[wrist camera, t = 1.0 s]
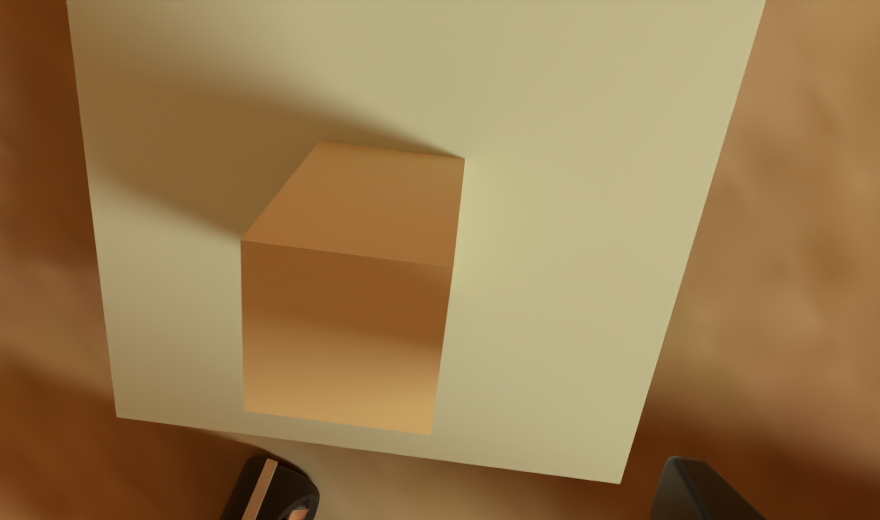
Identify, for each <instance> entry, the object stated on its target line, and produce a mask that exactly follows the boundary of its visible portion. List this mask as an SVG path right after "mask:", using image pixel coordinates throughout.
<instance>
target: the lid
mask: <svg viewBox="0 0 880 520" xmlns="http://www.w3.org/2000/svg"><path fill="white" fill-rule="evenodd" d="M765 2H766V0H66V3H67V11H68V19H69V27H70V36H71V44H72V52H73V61H74V69H75V77H76V86H77V94H78V102H79V110H80V119H81V127H82V135H83V144H84V152H85V160H86V168H87V177H88V185H89V193H90V202H91V210H92V218H93V226H94V235H95V243H96V251H97V260H98V268H99V276H100V284H101V293H102V301H103V309H104V318H105V326H106V334H107V342H108V351H109V359H110V367H111V376H112V384H113V392H114V400H115V409H116V417H119V418H127V419H134V420H142V421H149V422H157V423H164V424H172V425H179V426H187V427H194V428H202V429H210V430H217V431H225V432H232V433H240V434H247V435H255V436H262V437H270V438H277V439H285V440H292V441H300V442H307V443H315V444H322V445H330V446H337V447H345V448H353V449H360V450H368V451H375V452H383V453H390V454H398V455H405V456H413V457H420V458H428V459H435V460H443V461H450V462H458V463H465V464H473V465H480V466H488V467H496V468H503V469H511V470H518V471H526V472H533V473H541V474H548V475H556V476H563V477H571V478H578V479H586V480H593V481H601V482H608V483H616V484H620V483H621V479H622V476H623V473H624V469H625V466H626V463H627V459H628V456H629V453H630V450H631V446H632V443H633V440H634V436H635V433H636V430H637V426H638V423H639V420H640V416H641V413H642V410H643V406H644V403H645V400H646V396H647V393H648V390H649V387H650V383H651V380H652V377H653V373H654V370H655V367H656V363H657V360H658V357H659V353H660V350H661V347H662V343H663V340H664V337H665V334H666V330H667V327H668V324H669V320H670V317H671V314H672V310H673V307H674V304H675V300H676V297H677V294H678V290H679V287H680V284H681V280H682V277H683V274H684V271H685V267H686V264H687V261H688V257H689V254H690V251H691V247H692V244H693V241H694V237H695V234H696V231H697V227H698V224H699V221H700V218H701V214H702V211H703V208H704V204H705V201H706V198H707V194H708V191H709V188H710V184H711V181H712V178H713V174H714V171H715V168H716V165H717V161H718V158H719V155H720V151H721V148H722V145H723V141H724V138H725V135H726V131H727V128H728V125H729V121H730V118H731V115H732V111H733V108H734V105H735V102H736V98H737V95H738V92H739V88H740V85H741V82H742V78H743V75H744V72H745V68H746V65H747V62H748V58H749V55H750V52H751V49H752V45H753V42H754V39H755V35H756V32H757V29H758V25H759V22H760V19H761V15H762V12H763V9H764V5H765Z"/></svg>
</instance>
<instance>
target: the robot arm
mask: <svg viewBox="0 0 880 520" xmlns="http://www.w3.org/2000/svg"><path fill="white" fill-rule="evenodd" d="M651 520H767V519H766V518H765V517H764V516H763V515H762V514H761V513H760V512H759V511H758V510H757V509H756V508H755V507H753V506H752V505H751V504H750V503H749V502H748V501H747V500H746V499H745V498H744V497H743V496H742V495H741V494H740V493H739V492H738V491H737V490H736V489H734V488H733V487H732V486H731V485H730V484H729V483H728V482H727V481H726V480H725V479H724V478H723V477H722V476H721V475H720V474H719V473H718V472H717V471H715V470H714V469H713V468H712V467H711V466H710V465H709V464H708V463H707V462H705V461H704V460H702V459H698V458H690V457H682V456H672V457H670V458H669V459H668V460H667V461H666V463H665V466H664V469H663V472H662V475H661V478H660V481H659V484H658V487H657V490H656V493H655V496H654V499H653V503H652V507H651Z"/></svg>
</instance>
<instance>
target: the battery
mask: <svg viewBox="0 0 880 520" xmlns="http://www.w3.org/2000/svg"><path fill="white" fill-rule="evenodd" d="M319 497H320V494H319V491H318V489H317V487H316V486H315V485H314V484H313V483H312V482H311V481H310V480H309V479H307V478H306V477H305V476H303V475H301V474H299V473H297V472H295V471H294V470H291V469H289V468H286V467H283V466H281V465H278V462H277V461H274V460H271V459H269V458H267V460H264V459H262V458H259V457H251V458H249V459H248V460H247V461H246V463H245V464H244V467H243V469H242V471H241V473H240V475H239V478H238V480H237V482H236V484H235V486H234V488H233V491H232V493H231V495H230V497H229V499H228V502H227V504H226V506H225V508H224V510H223V513H222V515H221V517H220V519H219V520H313V519H314V517H315V514H316V511H317V508H318V504H319Z"/></svg>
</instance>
